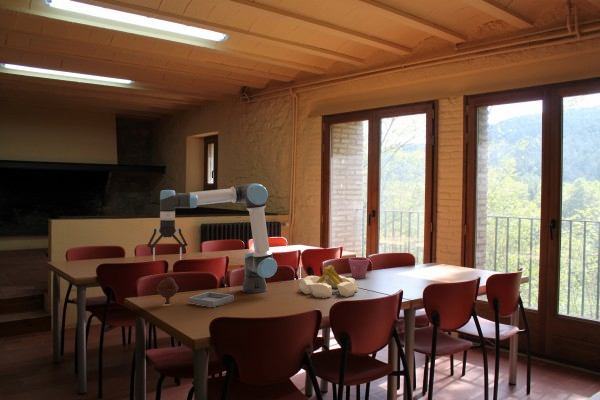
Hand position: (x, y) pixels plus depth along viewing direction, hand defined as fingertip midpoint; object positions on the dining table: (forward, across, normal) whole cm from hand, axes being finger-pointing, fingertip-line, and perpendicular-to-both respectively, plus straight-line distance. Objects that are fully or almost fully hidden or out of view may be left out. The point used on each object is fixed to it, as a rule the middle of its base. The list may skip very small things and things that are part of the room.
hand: (167, 260), depth 259 cm
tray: (+24, +23, 0) cm, 33 cm away
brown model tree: (+24, 0, 0) cm, 24 cm away
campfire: (+24, +94, +11) cm, 97 cm away
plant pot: (+24, +130, +52) cm, 141 cm away
